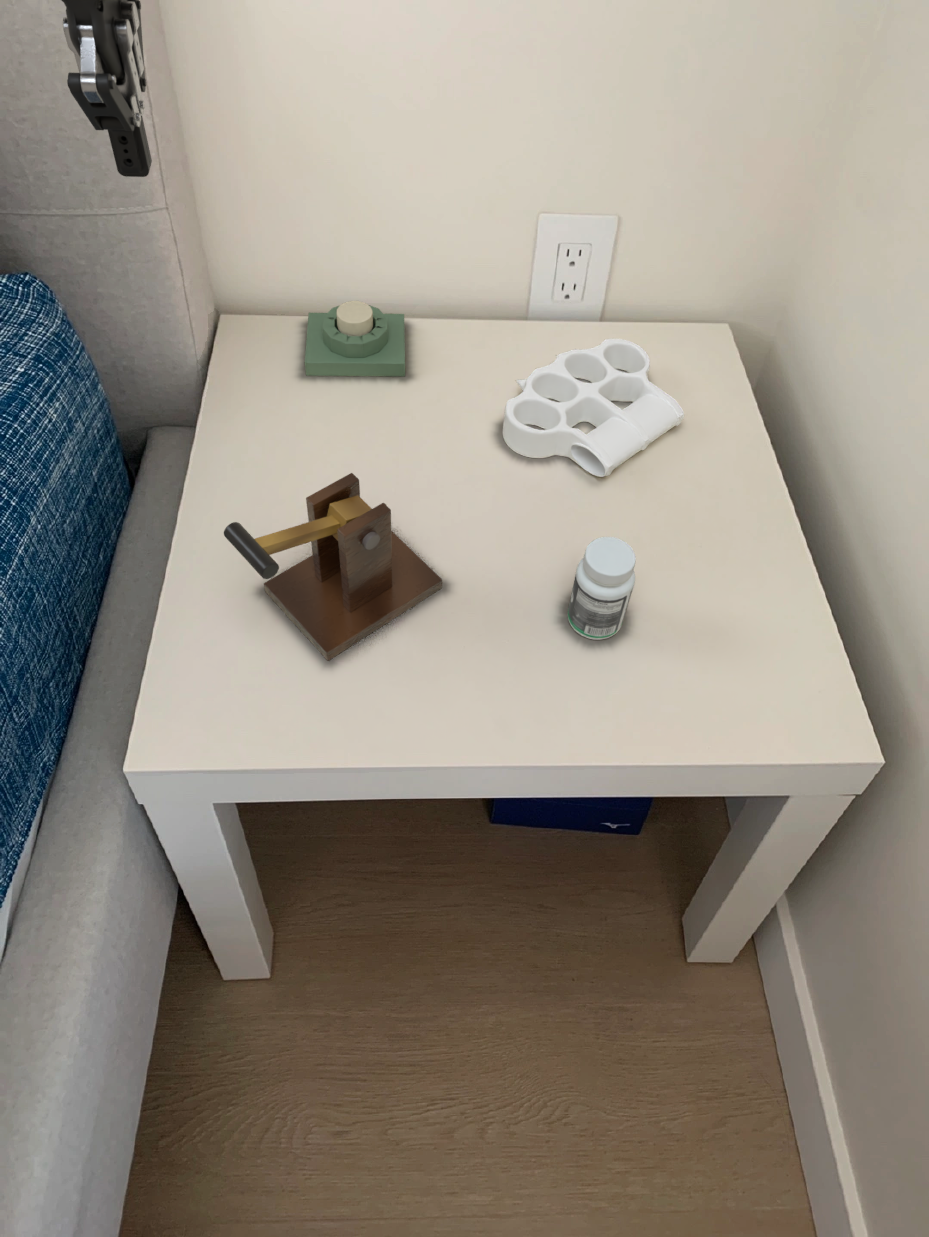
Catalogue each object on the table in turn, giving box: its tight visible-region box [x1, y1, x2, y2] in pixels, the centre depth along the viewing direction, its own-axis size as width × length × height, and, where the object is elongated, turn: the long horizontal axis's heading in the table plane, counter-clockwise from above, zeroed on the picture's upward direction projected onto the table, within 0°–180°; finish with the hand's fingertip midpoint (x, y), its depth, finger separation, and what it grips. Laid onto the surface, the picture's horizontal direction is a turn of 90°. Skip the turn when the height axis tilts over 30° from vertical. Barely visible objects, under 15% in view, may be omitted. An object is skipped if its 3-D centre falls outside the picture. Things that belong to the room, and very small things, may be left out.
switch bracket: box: [263, 472, 443, 661], centre depth 79 cm, size 12×9×11 cm
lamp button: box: [336, 300, 373, 336], centre depth 98 cm, size 4×4×2 cm
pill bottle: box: [567, 536, 637, 641], centre depth 79 cm, size 5×5×8 cm
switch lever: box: [223, 495, 373, 580], centre depth 73 cm, size 11×5×2 cm, turn 130°
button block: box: [304, 304, 406, 377], centre depth 100 cm, size 10×8×4 cm
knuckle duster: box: [502, 337, 685, 478], centre depth 96 cm, size 3×18×15 cm
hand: (136, 171), depth 71 cm, fingers closed
